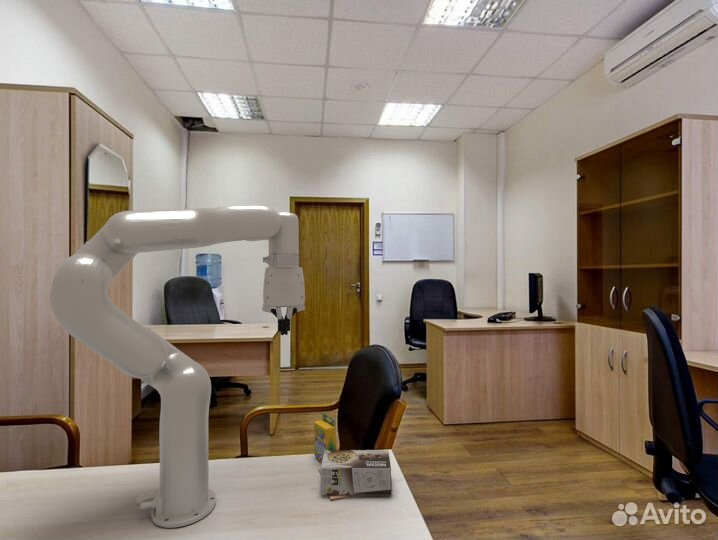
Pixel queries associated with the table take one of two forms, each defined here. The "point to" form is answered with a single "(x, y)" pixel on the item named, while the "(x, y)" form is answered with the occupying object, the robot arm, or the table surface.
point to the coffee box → (356, 472)
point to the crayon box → (324, 436)
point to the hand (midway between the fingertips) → (284, 334)
